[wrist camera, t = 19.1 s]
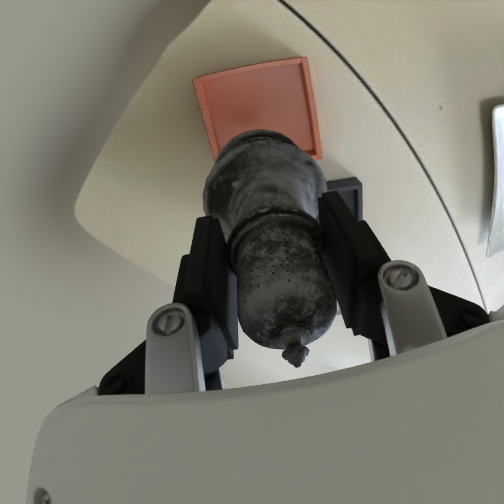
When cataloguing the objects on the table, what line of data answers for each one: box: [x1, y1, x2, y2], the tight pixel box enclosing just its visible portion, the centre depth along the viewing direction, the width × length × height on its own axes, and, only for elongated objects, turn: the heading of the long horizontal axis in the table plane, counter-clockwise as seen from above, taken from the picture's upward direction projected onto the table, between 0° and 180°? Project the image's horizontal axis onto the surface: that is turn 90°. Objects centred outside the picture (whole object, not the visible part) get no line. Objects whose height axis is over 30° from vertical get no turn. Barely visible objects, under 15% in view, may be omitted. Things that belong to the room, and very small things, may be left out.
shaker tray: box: [192, 57, 322, 162], centre depth 27 cm, size 11×11×2 cm
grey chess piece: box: [203, 129, 337, 368], centre depth 11 cm, size 6×6×12 cm
